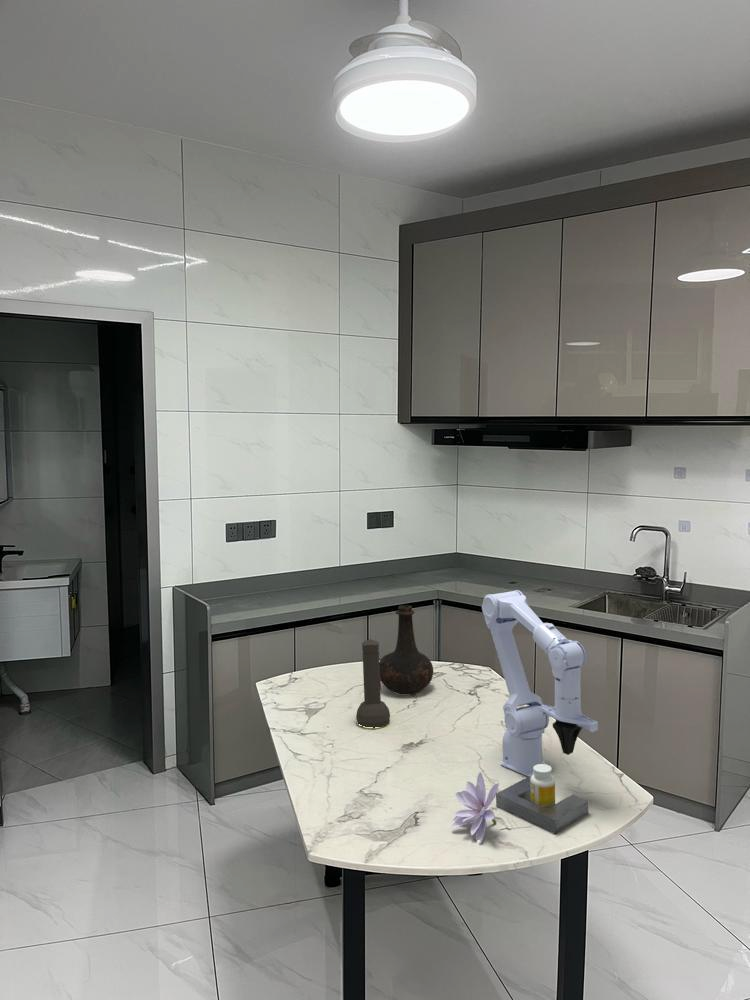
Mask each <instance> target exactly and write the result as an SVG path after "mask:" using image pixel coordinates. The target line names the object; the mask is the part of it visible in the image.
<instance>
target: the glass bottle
mask: <svg viewBox="0 0 750 1000" xmlns="http://www.w3.org/2000/svg"><path fill="white" fill-rule="evenodd" d="M397 608H398V610H397V611H396V612H395V615H396V614H397V615H398V622H397V623H398V624H397V625H398V629H397V639H396V640H397V641H396V647H395V649H394V651H392V652H390V653H388V654H385V655H383V656H382V657H381V658H380V659H379V668H380V678H381V684H382V685H383V686H384V687H385V688H386V689H387V690H389V691H390V692H392V693H394V692H395V693H394V694H397V693H398V695H402V694H410V695H415V694H417V693H418V694H419V693H420V692H422V691H423V690H425V689H426V688H427V687H428V686H429V684H430V683H431V681H432V679H433V678H434V677H433V676H434V667H433V663H432V661H431V660H430V658H429V657H428V656H427V655H425V654H423V653H422V652H420V651H419V650H418V647H417V643H416V640H415V639H416V638H415V633H414V631H415V630H414V623H413V615H414V614H415V611H414V610H412V609H413V607H412V606H411V605H405V604H404V605H403V604H402V605H398V607H397Z"/></svg>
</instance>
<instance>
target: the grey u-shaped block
mask: <svg viewBox="0 0 750 1000" xmlns="http://www.w3.org/2000/svg"><path fill="white" fill-rule="evenodd" d="M530 778H531V776H529V777H528V776H526V777H525V778H523V779H521V780H519V781H518V782H515V783H513V784H511V785H509V786H508V787H506V788H504V789H502V790H500V791H497V793H496V796H495V801H496V802H495V806H496V807H497V808H498V809H500V810H503V811H505V812H507V813H510V814H512V815H514V816H516V817H518V818H520V819H523V820H525V821H526V822H528V823H530V824H533V825H535V826H537V827H538V828H539V827H540V828H541V829H543V830H546V831H548V832H549V833H552V834H554V835H556V834H558V833H559V832H561V831H563V830H565V829H566V828H568V827H570V826H571V825H573V824H574V823H576V822H577V821H579V820H580V819H582V818H584V817H585V816H587V815H588V814H589V810H590V807H589V800H588V799H586V798H583V797H582V796H579V795H576V794H575V793H572V794H571V795H569V796H567V797H565V798H563V799H562V800H560V801H559V802H556V803H555V805H553V806H551V807H550V808H548V809H545V808H543V807H541V806H538V805H536V804H534V803H532V802H531V801H530Z"/></svg>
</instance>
